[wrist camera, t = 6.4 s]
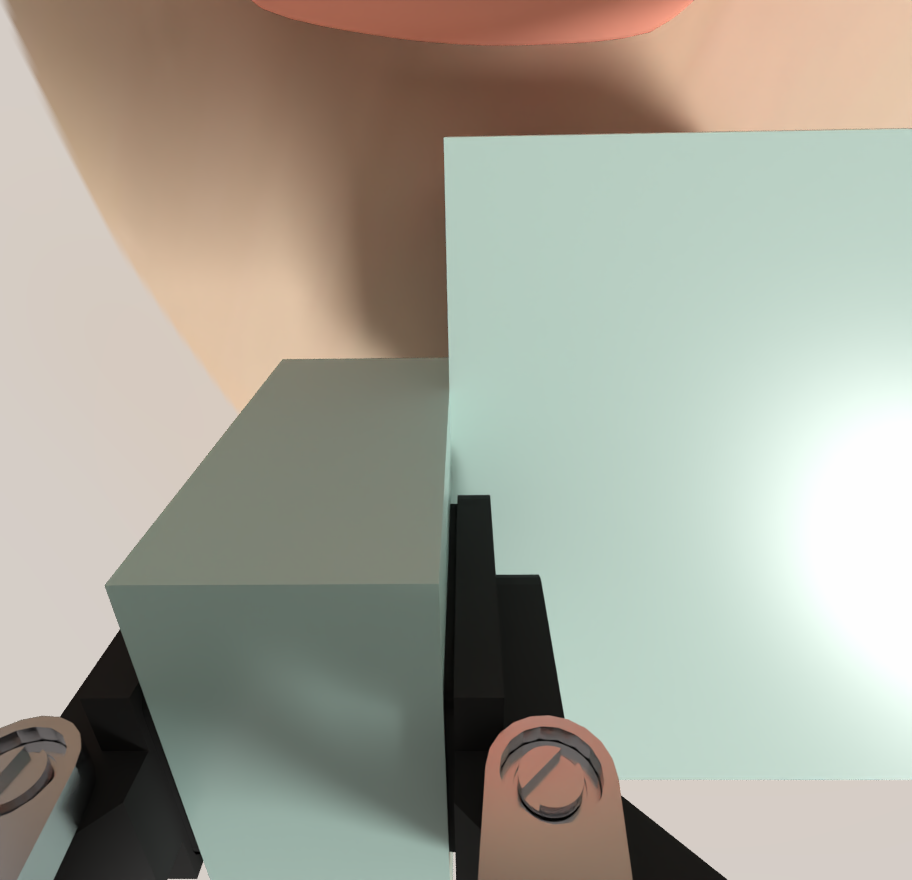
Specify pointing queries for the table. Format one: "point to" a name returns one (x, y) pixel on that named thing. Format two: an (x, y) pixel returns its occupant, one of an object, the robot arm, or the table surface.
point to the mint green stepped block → (563, 500)
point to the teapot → (485, 19)
